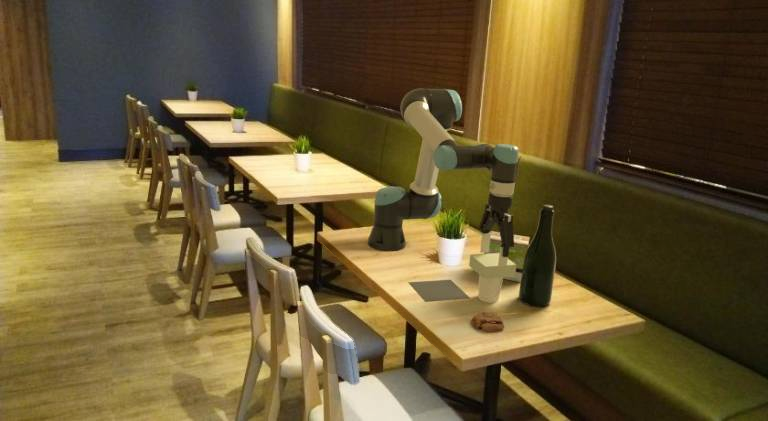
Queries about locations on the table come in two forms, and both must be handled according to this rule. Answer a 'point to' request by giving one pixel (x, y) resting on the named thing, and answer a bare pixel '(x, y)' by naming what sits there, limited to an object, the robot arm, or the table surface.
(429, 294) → the mat
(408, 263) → the table surface
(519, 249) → the tea box
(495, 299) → the white cup
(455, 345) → the table surface
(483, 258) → the lid
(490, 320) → the cookie
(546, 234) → the dark green wine bottle
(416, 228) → the table surface
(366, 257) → the table surface
